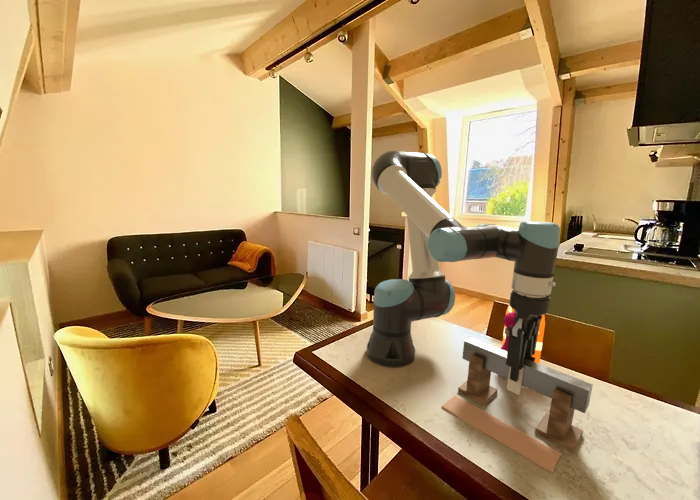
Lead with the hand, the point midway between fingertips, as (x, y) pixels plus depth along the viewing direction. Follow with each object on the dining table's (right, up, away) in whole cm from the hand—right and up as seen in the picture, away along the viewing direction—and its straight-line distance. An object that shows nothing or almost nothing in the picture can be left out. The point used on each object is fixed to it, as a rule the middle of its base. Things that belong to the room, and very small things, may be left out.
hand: (516, 387), depth 72 cm
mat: (-7, -7, -4) cm, 11 cm away
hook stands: (0, -6, +1) cm, 6 cm away
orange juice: (+13, -2, +23) cm, 27 cm away
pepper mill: (+7, -3, +16) cm, 18 cm away
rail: (0, +2, 0) cm, 2 cm away
